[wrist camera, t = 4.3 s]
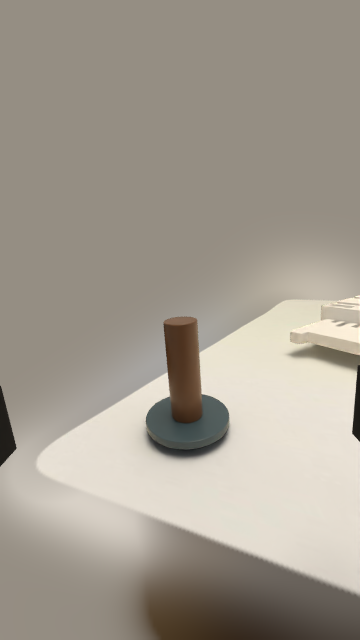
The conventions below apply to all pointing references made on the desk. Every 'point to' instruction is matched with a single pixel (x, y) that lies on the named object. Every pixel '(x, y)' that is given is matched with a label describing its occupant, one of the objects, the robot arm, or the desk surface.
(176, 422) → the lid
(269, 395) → the desk surface
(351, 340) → the organizer
